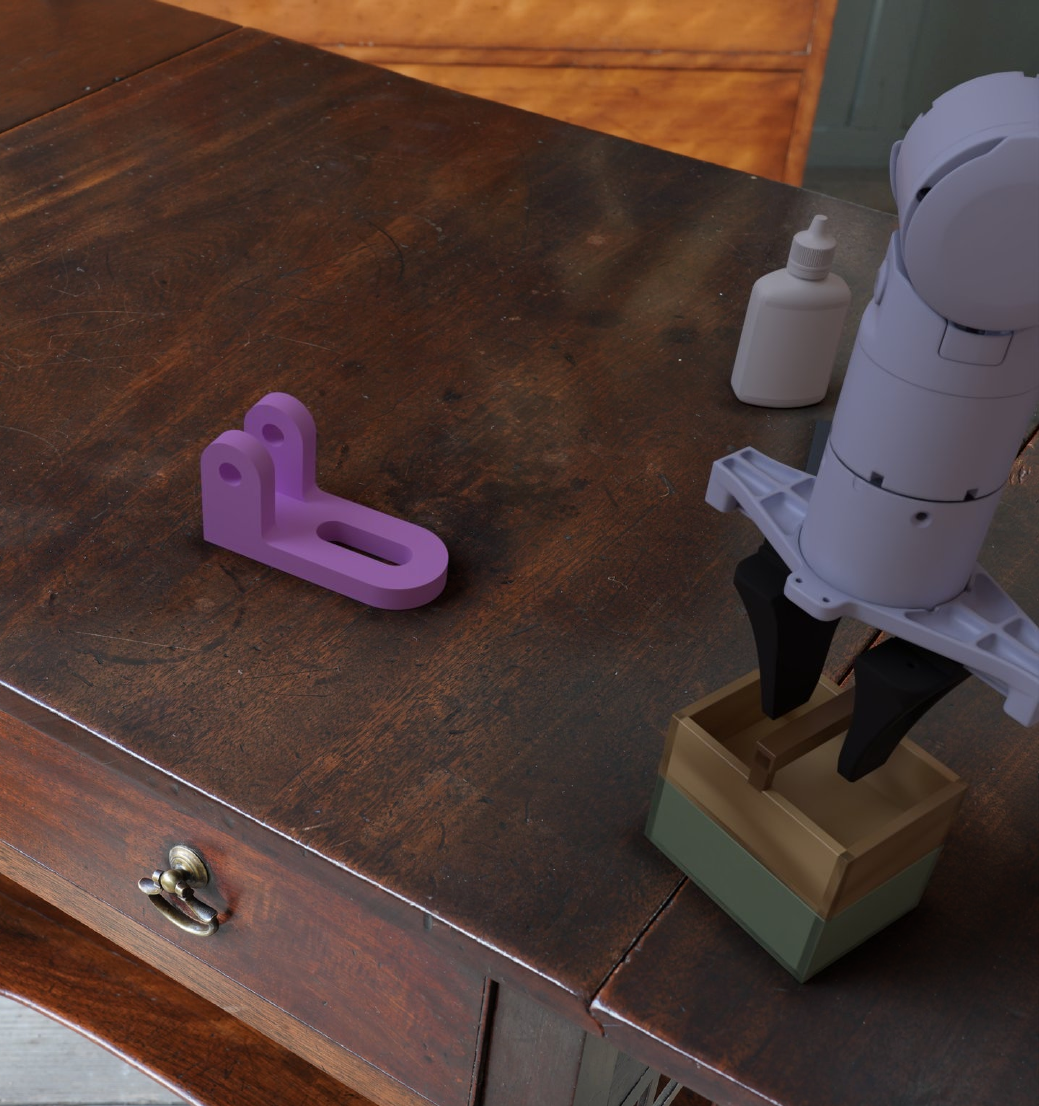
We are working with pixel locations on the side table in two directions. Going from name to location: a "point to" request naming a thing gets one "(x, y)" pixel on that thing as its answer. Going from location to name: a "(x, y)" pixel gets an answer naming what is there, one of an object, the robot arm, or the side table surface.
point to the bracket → (309, 514)
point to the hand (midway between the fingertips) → (822, 736)
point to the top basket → (808, 791)
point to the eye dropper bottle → (793, 326)
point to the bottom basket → (774, 889)
